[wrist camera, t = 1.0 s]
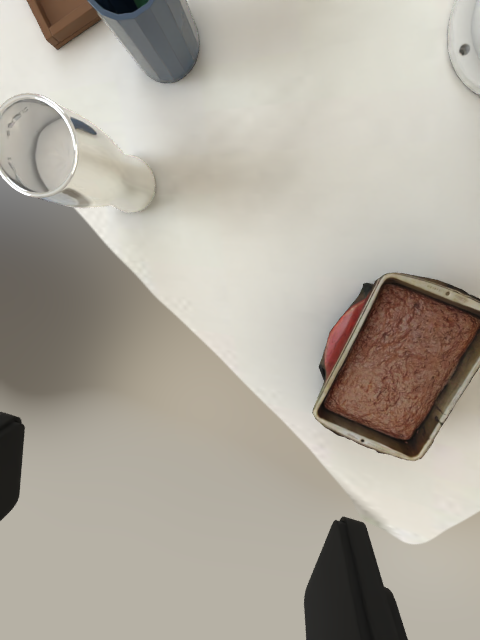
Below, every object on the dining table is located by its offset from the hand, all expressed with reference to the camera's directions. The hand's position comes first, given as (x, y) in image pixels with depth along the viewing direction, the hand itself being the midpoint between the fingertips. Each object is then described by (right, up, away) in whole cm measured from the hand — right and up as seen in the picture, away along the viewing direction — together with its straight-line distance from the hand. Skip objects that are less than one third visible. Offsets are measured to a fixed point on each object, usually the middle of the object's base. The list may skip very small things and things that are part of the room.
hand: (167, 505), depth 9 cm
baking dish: (+19, +2, +29) cm, 34 cm away
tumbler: (-5, +33, +24) cm, 41 cm away
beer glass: (-10, +21, +28) cm, 36 cm away
